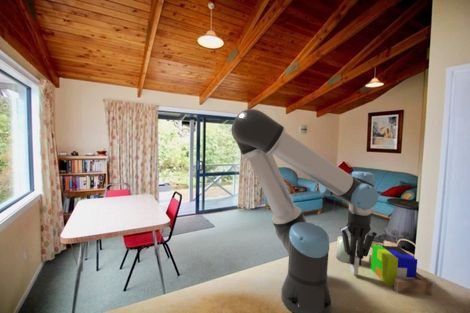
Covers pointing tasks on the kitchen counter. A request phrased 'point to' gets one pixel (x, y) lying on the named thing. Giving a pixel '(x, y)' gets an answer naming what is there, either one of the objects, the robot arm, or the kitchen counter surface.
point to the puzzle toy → (392, 264)
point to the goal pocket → (411, 284)
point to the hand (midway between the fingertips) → (354, 272)
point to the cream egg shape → (342, 251)
